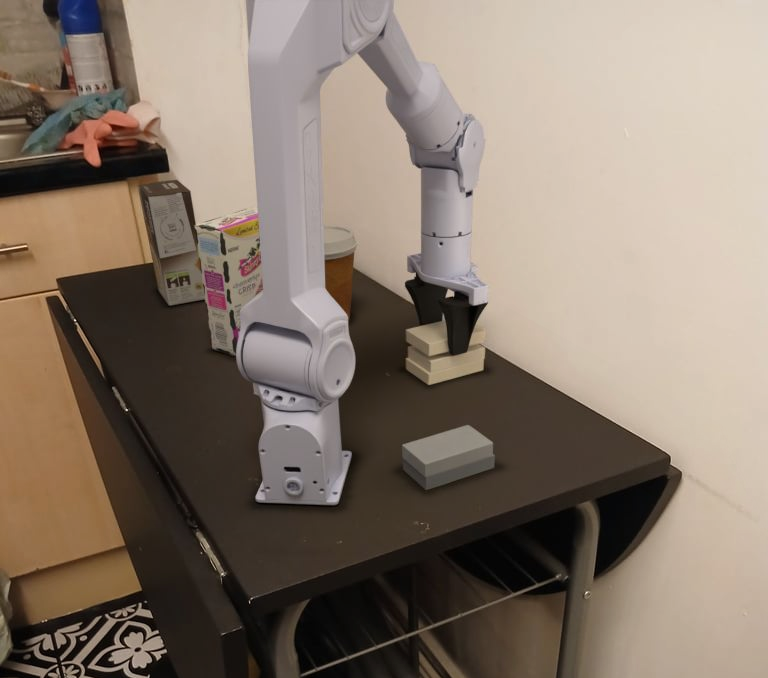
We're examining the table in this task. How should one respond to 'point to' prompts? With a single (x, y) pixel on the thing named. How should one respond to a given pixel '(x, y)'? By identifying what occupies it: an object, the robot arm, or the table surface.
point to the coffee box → (172, 240)
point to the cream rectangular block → (437, 337)
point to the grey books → (447, 457)
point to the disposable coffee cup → (339, 264)
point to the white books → (444, 364)
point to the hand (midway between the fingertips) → (444, 344)
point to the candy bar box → (229, 272)
